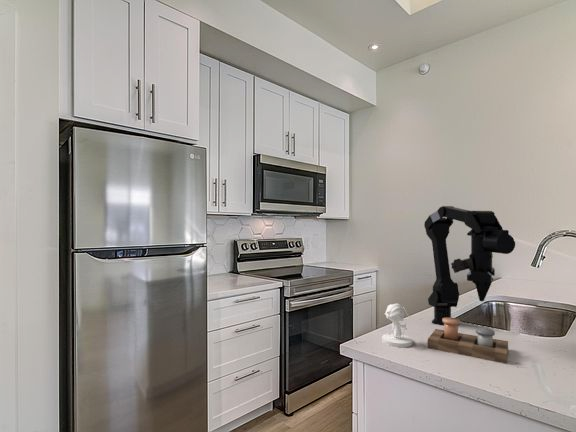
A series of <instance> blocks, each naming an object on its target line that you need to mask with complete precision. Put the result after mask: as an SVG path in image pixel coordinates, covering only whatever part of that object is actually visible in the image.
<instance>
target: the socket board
mask: <svg viewBox="0 0 576 432" xmlns="http://www.w3.org/2000/svg"><path fill="white" fill-rule="evenodd" d="M427 349H431V350H437V351H440V352H441V351H442V352H445V353H446V352H447V353H452V354H456V355H461V356H466V357H471V358H474V359H475V358H476V359H479V360H480V359H482V360H487V361H491V362H495V363H501V364H505V365H507V364H508V357H509V356H508V355H509V340H504V339H497V338H493V348H491V347H485V346H480V345H478V335H473V334H468V333H462V332H458V340H457V341H453V340H447V339H444V329H439V328H435V329H434V330H433V332H432V333H431V334H430V335H429V337H428V338H427Z"/></svg>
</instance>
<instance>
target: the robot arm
mask: <svg viewBox="0 0 576 432" xmlns="http://www.w3.org/2000/svg"><path fill="white" fill-rule="evenodd" d="M454 221H458V222H462V223H464V225H465V226H466V227H468V228H470V230H469V231H468V232H467V233H466V236H470V237H471V238H470V239H471V240H470V243H471V244H470V248H471V249H470V254H469V255H468V258H464V259H461V258H455V259H453V262H451V263H449V253H448V247H447V238H448V236H449V235H450V228H451V226H452V225H453V224H454ZM423 227H424V229H425V233H426V235H427V237H428V238H429V240H431V245H432V251H433V262H434V269H435V271H434V272H435V281H434V283H433V285H432V293H431V294H430V295H429V297H428V298H427V301H428V305H429V306H431V307H433V314H434V315H433V319H432V320H431V324H439V325H443V326H444V323H443V322H442V318H446V317H449V318H452V308H457V306H458V303H459V299H460V292H459V291H460V290H459V284H458V283H457V282H454V281H453V279H452V276H451V270H450V264H451V269H452V270H453V272H454V274H458V273H459V272H462V271H465V270H468V271H469V272H468V273H467V274H466V281H467V282H472V283H473V284H474V285H475V288H476V292H477V296H478V300H479V301H480V302H484V301H485V299H486V297H487V294H488V292H489V290H490V287H491V285H492V283H493V281H494V278H493V277H494V276H495V275H496V272H495V271H496V269H495V268H494V266H493V257H494V256H493V255H494V254H495V253H496V254H504V255H509V254H511V253H512V252H513V251H514V249H515V247H516V241H515V239H514V237H513V236H512V235H510V234H509V233H510V232H509V230H508V229H503V226H502V225H501V224H500V221H499V220H498V218H497V216H496V214H495V212H494V211H493V210H469V209H464V208H459V207H455V206H453V205H447V206H446V205H443V206H440V207H439V208H438V209H437V210H436V211H434V212H433V213H431V214H429V215H428V217H427V218H426V220H424V226H423Z"/></svg>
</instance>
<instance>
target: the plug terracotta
mask: <svg viewBox="0 0 576 432" xmlns="http://www.w3.org/2000/svg"><path fill="white" fill-rule="evenodd" d="M442 322H443V323H444V325H443V330H444V339H447V340H453V341H457V340H458V333H459V325H460V324H461V321H460V319H458V318H455V317H451V318H449V317H446V318H442Z"/></svg>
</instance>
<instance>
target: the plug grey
mask: <svg viewBox="0 0 576 432" xmlns="http://www.w3.org/2000/svg"><path fill="white" fill-rule="evenodd" d="M495 333H496V331H495V330H493V329H490V328H487V327H476V328H475V334H477V336H478V345H480V346H485V347H491V348H493V339H494V337H493V336H495V335H496V334H495Z"/></svg>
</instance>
